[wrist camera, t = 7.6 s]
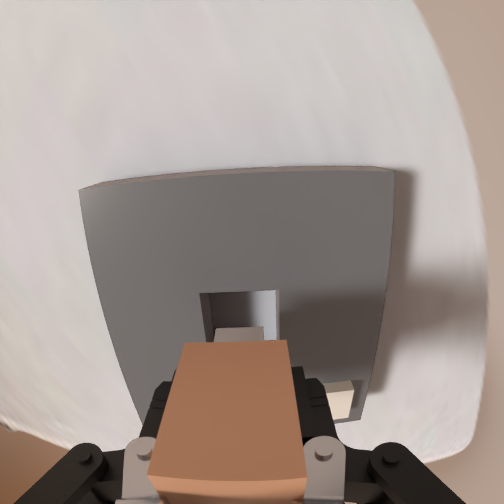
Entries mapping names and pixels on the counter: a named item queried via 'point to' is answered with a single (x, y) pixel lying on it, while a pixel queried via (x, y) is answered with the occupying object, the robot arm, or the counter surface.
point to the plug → (231, 425)
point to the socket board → (245, 266)
